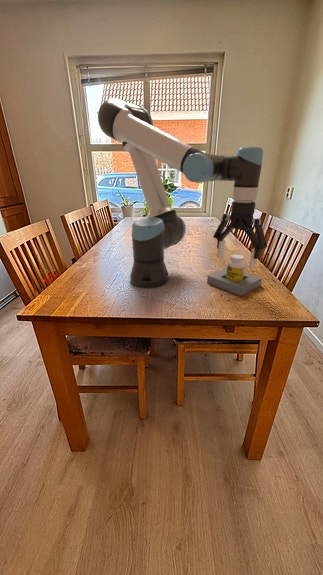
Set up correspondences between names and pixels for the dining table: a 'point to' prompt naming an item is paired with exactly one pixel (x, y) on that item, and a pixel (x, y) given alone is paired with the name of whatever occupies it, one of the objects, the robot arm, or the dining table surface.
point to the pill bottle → (235, 268)
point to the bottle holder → (231, 286)
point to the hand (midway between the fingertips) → (235, 262)
